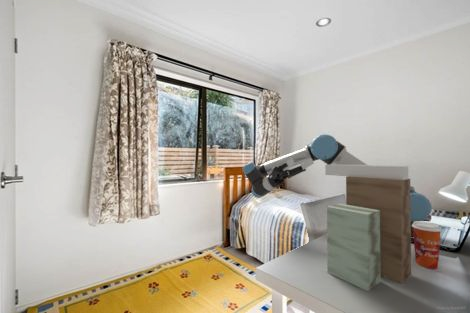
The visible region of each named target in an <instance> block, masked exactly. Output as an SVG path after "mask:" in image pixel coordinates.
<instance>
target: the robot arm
mask: <svg viewBox="0 0 470 313" xmlns="http://www.w3.org/2000/svg"><path fill="white" fill-rule="evenodd" d="M319 160H320V161H321V162H323V163H324V164H325V165H368V164H366V163H365V161H364V162H363V161H362V160H361V159H359V158H358V157H357V156H354V155H353V154H352V153H350V152H348V150H347V146H346V145H344V144H343V143H341V142H340V141H338V140H337V139H336V138H335V137H334V136H332V135H330V134H325V133H324V134H320V135H317V136H316V137H314V138H313V139H312V141H311V143H309V144H307V145H305V147H303V148H301V149H298V150H296V151H293V152H290V153H288V154H285V155H282V156H280V157H277V158H274V159H272V160H269V161H266V162H263V163H262V164H259V165H256V164H255V163H254V162H253V161H250V162H248V163H247V164H245V165H244V166H242V172H243V173H244V175H245V177H246V178H247V180H248V181H249V183H250V184H251V194H252V195H253V196H254V198H257V199H260V198H262V197H264V196H266V195H268V194H269V193H271V192H274V191H275V189H277V188H278V187H279V188H280V186H282V185H283V183H284V181H285V180H287V179H291V178H293V177H294V176H297V175H299V174H301V173H304V172H306V171H307V169H308V168H309V167H311V166H312V165H314V164H315V161H319ZM298 165H299V166H298ZM292 167H293V168H292ZM290 168H291V169H290ZM410 201H411V237H414V235H413V227H412V224H413V222H414V221H423V220H426V219H427V218H429V216H430V215H431V214H432V208H433V207H432V202H431V201H430V199H428V198H427V197H426V196H425V195H423V194H422V193H419V192H417V191H416V190H415V187H414V186H411V185H410Z"/></svg>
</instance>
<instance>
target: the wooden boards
mask: <svg viewBox="0 0 470 313" xmlns="http://www.w3.org/2000/svg"><path fill="white" fill-rule="evenodd" d="M345 184H346V185H345V191H346V192H345V195H346V196H345V199H346V200H345V201H346V203H345V204H344V203H338V204H332V205H328V206H327V207H326V215H327V216H326V233H327V234H326V236H327V237H326V242H327V244H326V246H327V248H326V249H327V250H326V251H327V254H326V255H327V261H326V262H327V264H326V265H327V267H326V268H327V273H328V274H330V275H333V277H337V278H339V279H341V280H342V281H345V282H347V283H349V284H351V285H353V286H356V287H358V288H359V289H362V290H364V291H366V292H369V291H371V290H372V289H374V288H375V286H377V285H378V284H379V283H380V282H381V279H382V278H381V276H382V277H384V278H387V279H389V280H392V281H394V282H397V283H400V284H403V283H404V282H406V280H407V279H409V278H410V277H411V276H412V238H411V201H410V186H411V178H408V179H406V180H396V179H380V178H365V177H350V176H345Z"/></svg>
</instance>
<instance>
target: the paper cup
mask: <svg viewBox="0 0 470 313" xmlns="http://www.w3.org/2000/svg"><path fill="white" fill-rule="evenodd" d="M412 227H413V235H414V238H413V243H414V245H413V246H414V258H415V263H416V265H418V266H420V267H422V268H425V269H430V270H437V269H438V268H439V257H440V243H441V232H442V231H443V229H442V227H441V226H440V225H439V224H437V223H433V222H428V221H423V220H421V221H414V222H413V224H412Z"/></svg>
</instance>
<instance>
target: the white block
mask: <svg viewBox="0 0 470 313" xmlns="http://www.w3.org/2000/svg"><path fill="white" fill-rule="evenodd" d="M324 168H325V176H336V177H337V176H338V177H348V176H350V177H365V178H380V179H396V180H406V179H409V166H408V165H377V164H376V165H375V164H374V165H370V164H367V165H327V164H325V167H324Z"/></svg>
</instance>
